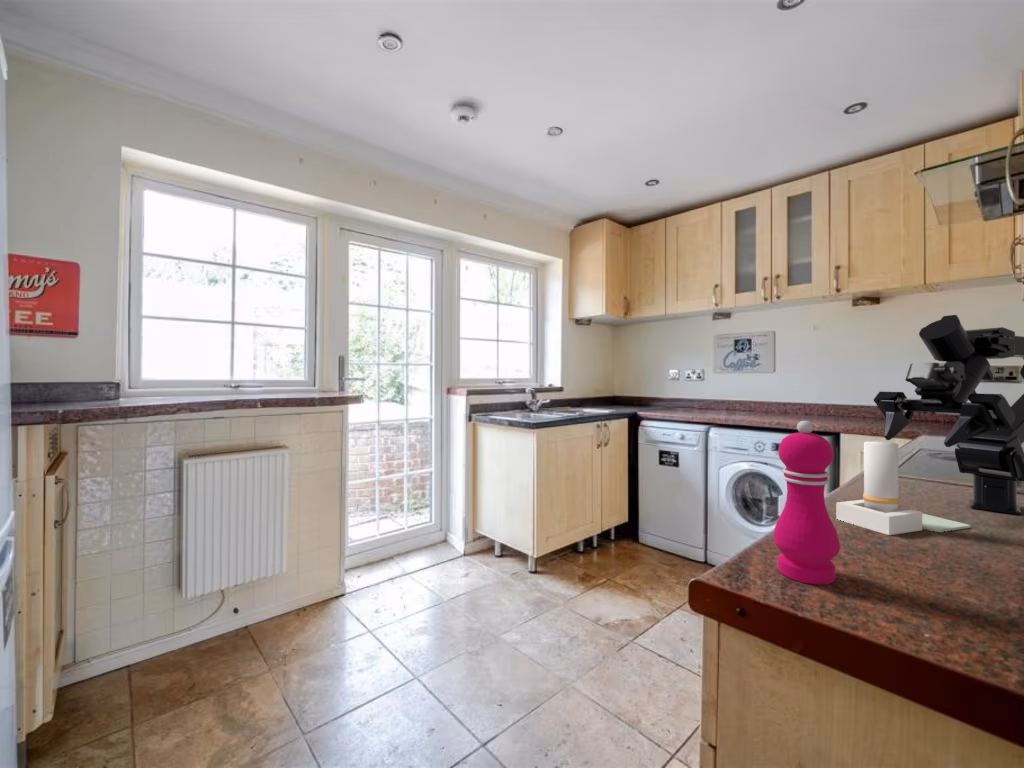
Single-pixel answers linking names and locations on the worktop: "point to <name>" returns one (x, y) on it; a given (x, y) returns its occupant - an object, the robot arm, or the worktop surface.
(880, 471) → the white banded cylinder
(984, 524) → the worktop surface
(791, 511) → the pepper mill
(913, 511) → the clip bracket
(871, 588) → the worktop surface
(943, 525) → the sage mat
